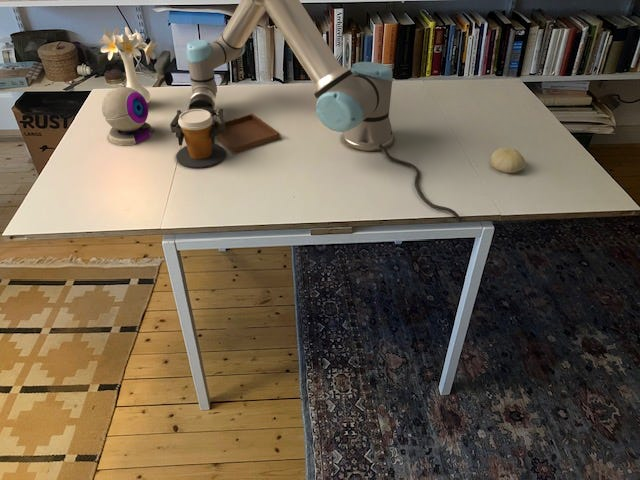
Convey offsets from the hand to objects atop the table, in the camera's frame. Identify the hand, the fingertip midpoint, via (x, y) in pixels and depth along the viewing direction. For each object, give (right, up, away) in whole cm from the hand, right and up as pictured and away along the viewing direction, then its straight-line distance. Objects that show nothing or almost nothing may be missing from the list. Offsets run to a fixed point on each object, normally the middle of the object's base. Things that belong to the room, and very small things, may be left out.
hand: (196, 140), depth 149 cm
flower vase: (-27, +18, +34) cm, 47 cm away
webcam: (-24, +5, +18) cm, 31 cm away
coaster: (0, -3, +8) cm, 9 cm away
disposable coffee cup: (-1, -3, +8) cm, 9 cm away
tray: (+11, +5, +18) cm, 22 cm away
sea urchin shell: (+87, -7, +5) cm, 87 cm away
